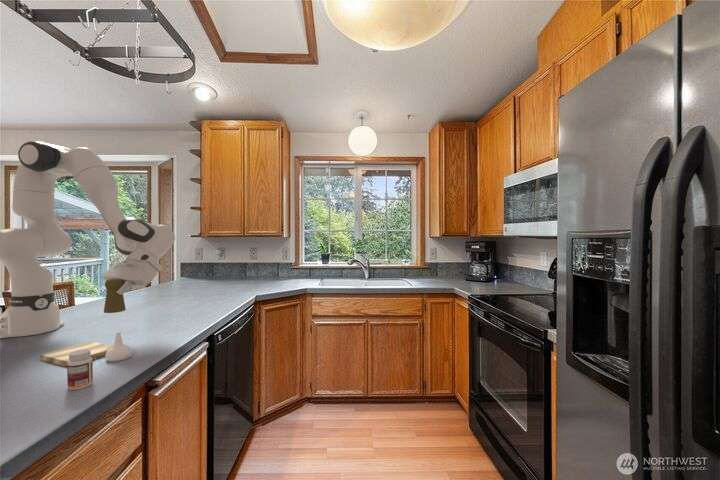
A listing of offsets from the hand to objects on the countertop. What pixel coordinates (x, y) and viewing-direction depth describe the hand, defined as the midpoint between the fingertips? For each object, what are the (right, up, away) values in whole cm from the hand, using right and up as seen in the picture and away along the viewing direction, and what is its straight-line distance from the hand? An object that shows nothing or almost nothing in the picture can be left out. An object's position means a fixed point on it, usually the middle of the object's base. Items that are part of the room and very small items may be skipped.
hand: (112, 292), depth 111 cm
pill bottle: (+15, -18, -31) cm, 39 cm away
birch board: (-2, -17, -11) cm, 20 cm away
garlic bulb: (+11, -18, -13) cm, 25 cm away
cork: (0, -6, +1) cm, 6 cm away
